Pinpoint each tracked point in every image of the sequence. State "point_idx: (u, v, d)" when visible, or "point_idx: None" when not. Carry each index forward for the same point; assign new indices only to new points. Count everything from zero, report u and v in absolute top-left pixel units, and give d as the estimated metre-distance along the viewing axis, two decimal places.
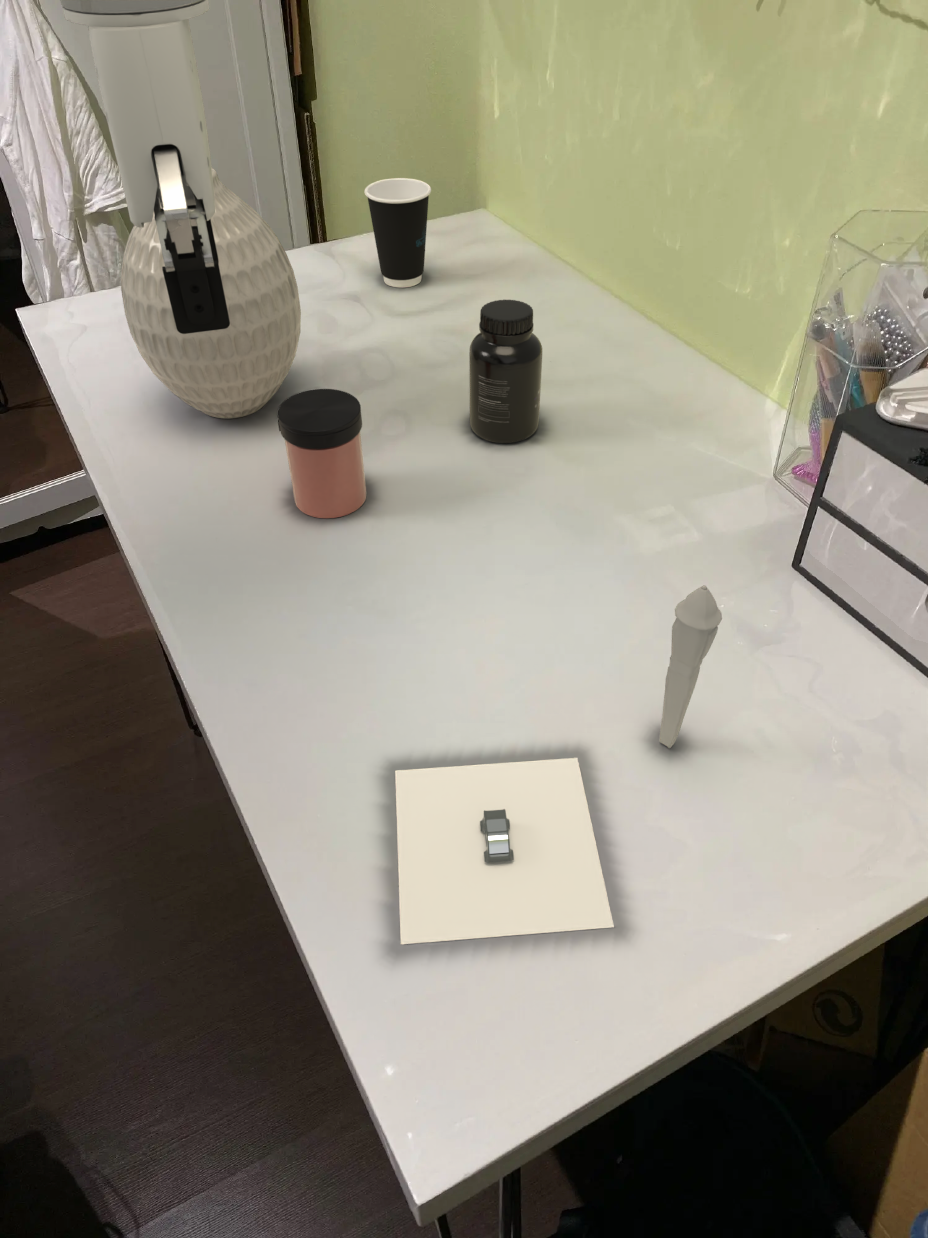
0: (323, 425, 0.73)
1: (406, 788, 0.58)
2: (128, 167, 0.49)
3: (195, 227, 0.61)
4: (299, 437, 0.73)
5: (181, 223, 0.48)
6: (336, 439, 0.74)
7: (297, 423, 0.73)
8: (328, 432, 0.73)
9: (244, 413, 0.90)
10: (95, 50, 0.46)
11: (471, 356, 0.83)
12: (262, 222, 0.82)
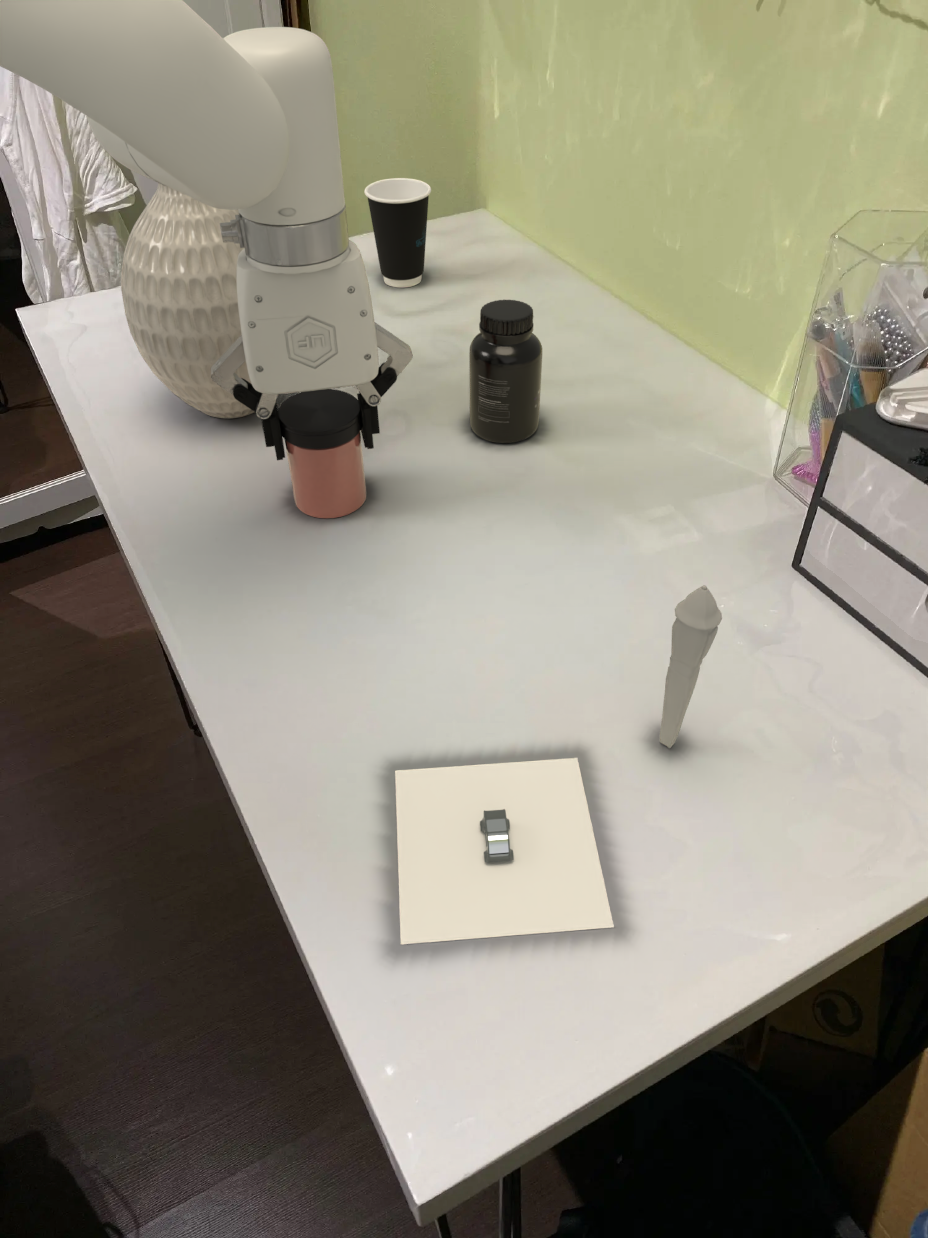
0: (323, 425, 0.73)
1: (406, 788, 0.58)
2: (376, 338, 0.70)
3: None
4: (299, 437, 0.73)
5: None
6: (336, 439, 0.74)
7: (297, 423, 0.73)
8: (328, 432, 0.73)
9: (244, 413, 0.90)
10: (357, 272, 0.66)
11: (471, 356, 0.83)
12: None
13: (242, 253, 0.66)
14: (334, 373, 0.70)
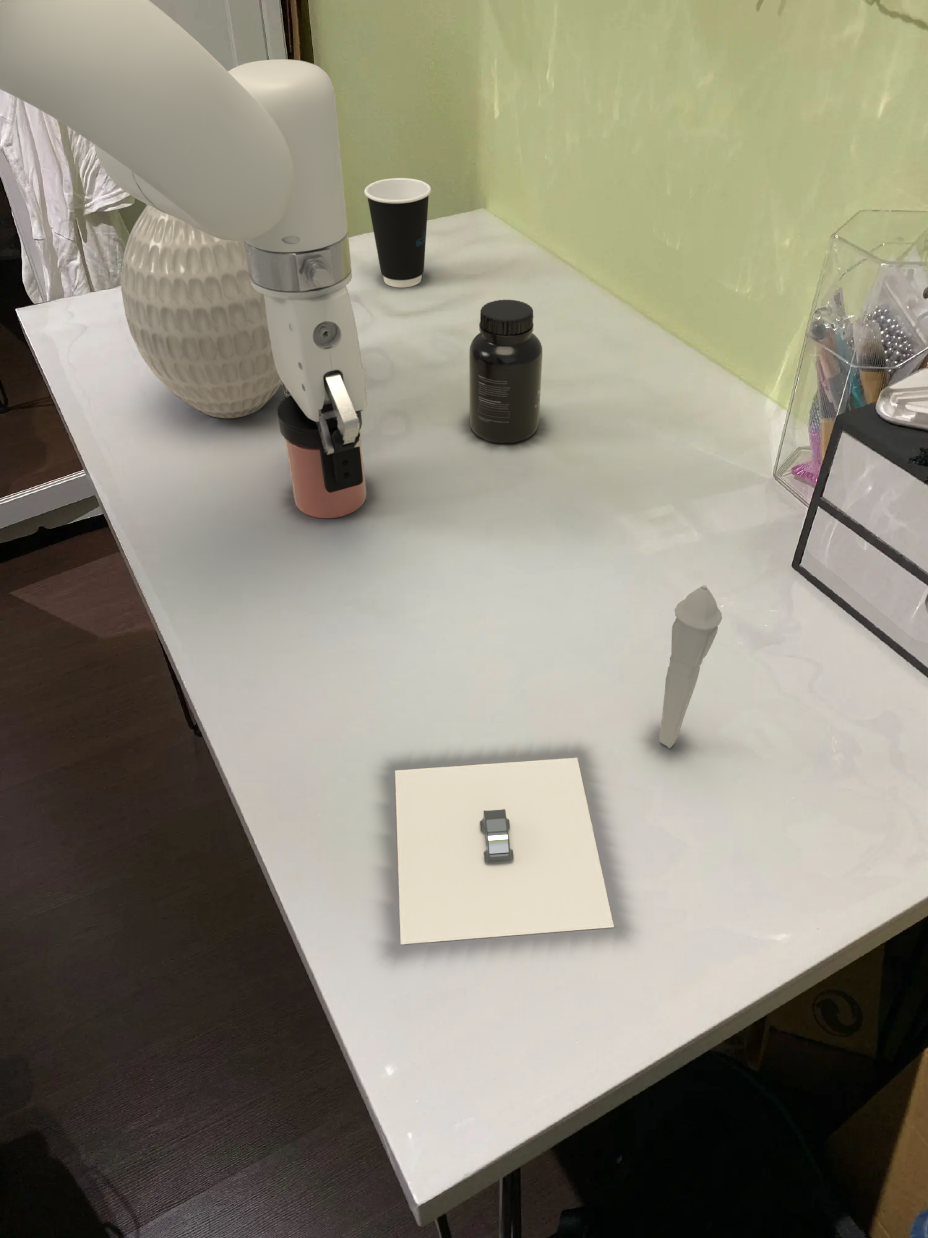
0: None
1: (406, 788, 0.58)
2: None
3: None
4: (360, 418, 0.75)
5: None
6: None
7: None
8: None
9: (244, 413, 0.90)
10: None
11: (471, 356, 0.83)
12: None
13: (308, 300, 0.65)
14: None
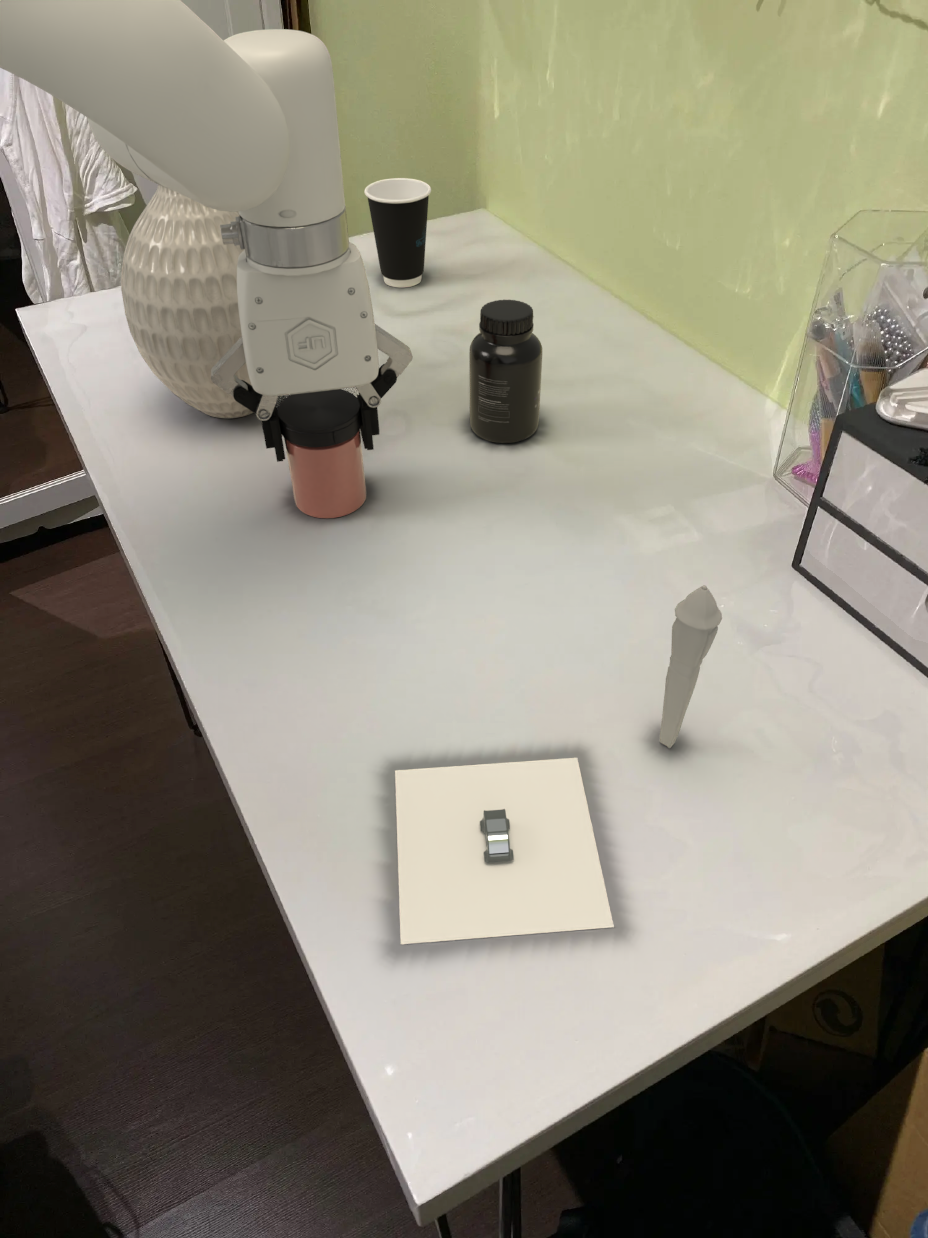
0: (348, 399, 0.76)
1: (406, 787, 0.58)
2: (376, 339, 0.70)
3: None
4: (359, 417, 0.75)
5: None
6: None
7: (347, 413, 0.74)
8: (355, 397, 0.76)
9: (244, 413, 0.90)
10: (357, 274, 0.66)
11: (471, 356, 0.83)
12: None
13: (242, 255, 0.66)
14: (334, 374, 0.70)
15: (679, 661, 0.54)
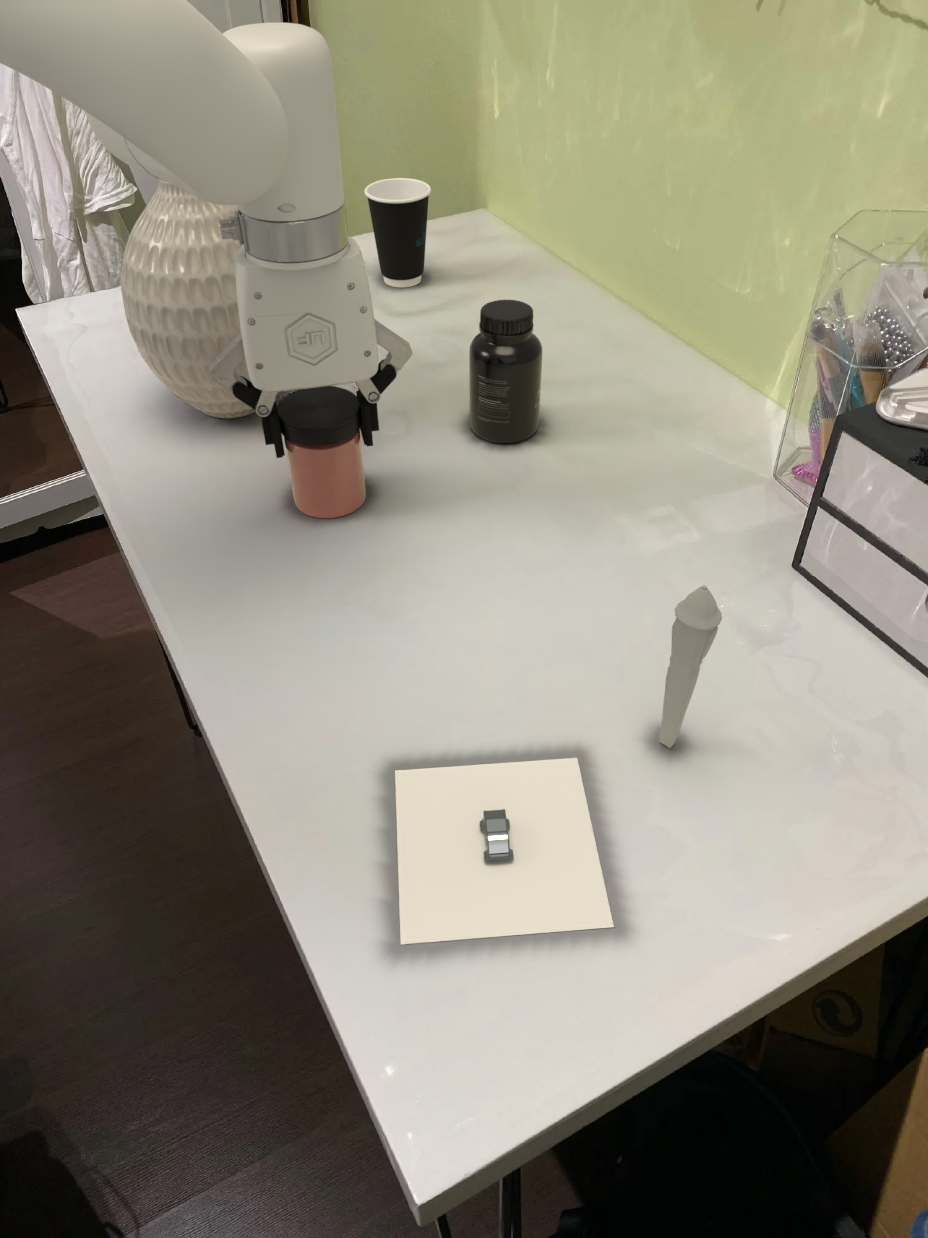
0: (300, 394, 0.76)
1: (406, 788, 0.58)
2: (375, 334, 0.70)
3: None
4: None
5: None
6: None
7: (325, 389, 0.77)
8: (292, 393, 0.77)
9: (244, 413, 0.90)
10: (356, 269, 0.66)
11: (471, 356, 0.83)
12: None
13: (241, 250, 0.66)
14: (333, 370, 0.70)
15: (679, 661, 0.54)
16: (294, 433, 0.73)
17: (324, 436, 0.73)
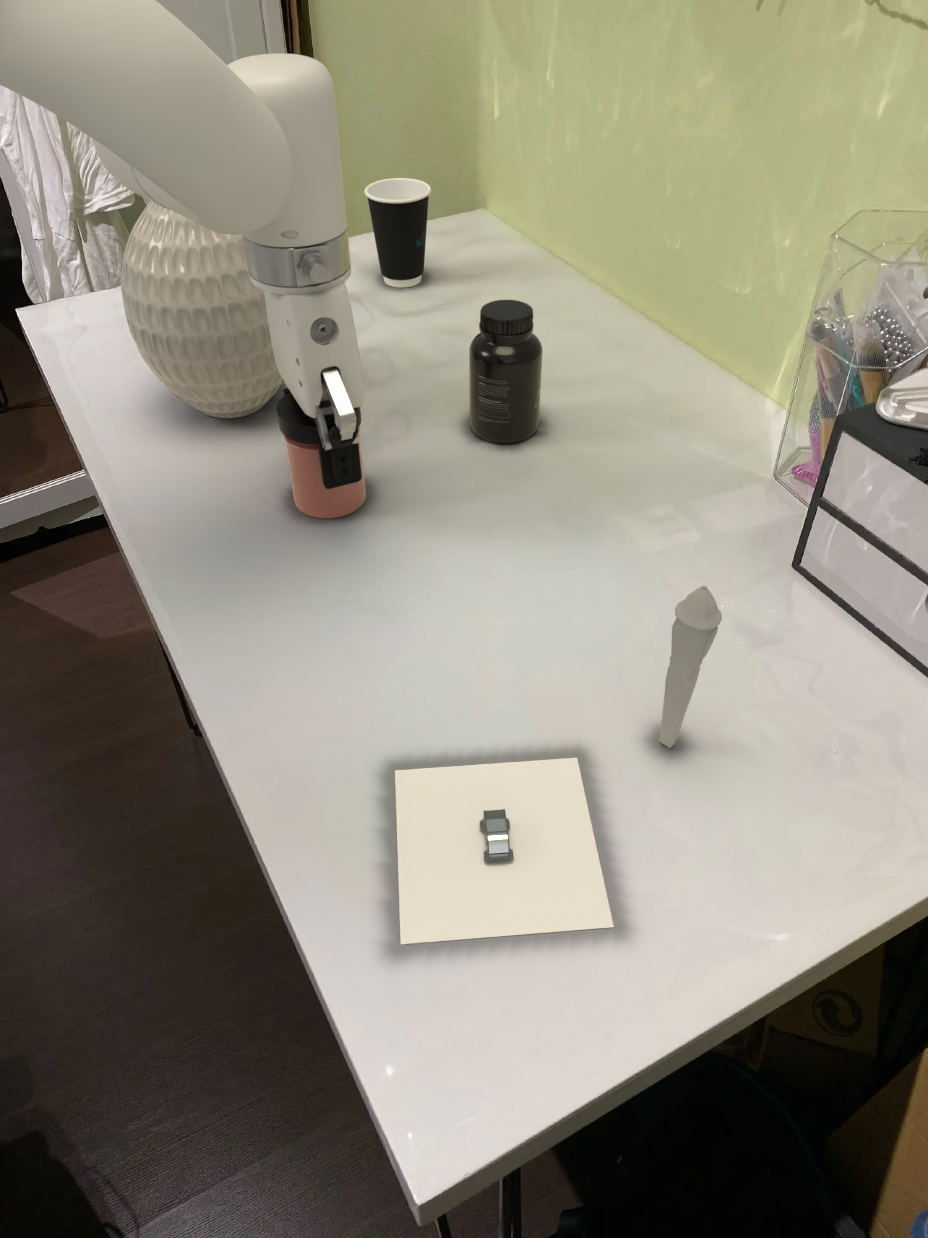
0: (296, 418, 0.73)
1: (406, 787, 0.58)
2: None
3: None
4: (278, 419, 0.74)
5: None
6: (300, 436, 0.73)
7: (285, 407, 0.75)
8: (293, 426, 0.73)
9: (244, 413, 0.90)
10: None
11: (471, 356, 0.83)
12: None
13: (305, 296, 0.64)
14: None
15: (679, 661, 0.54)
16: (357, 418, 0.75)
17: None
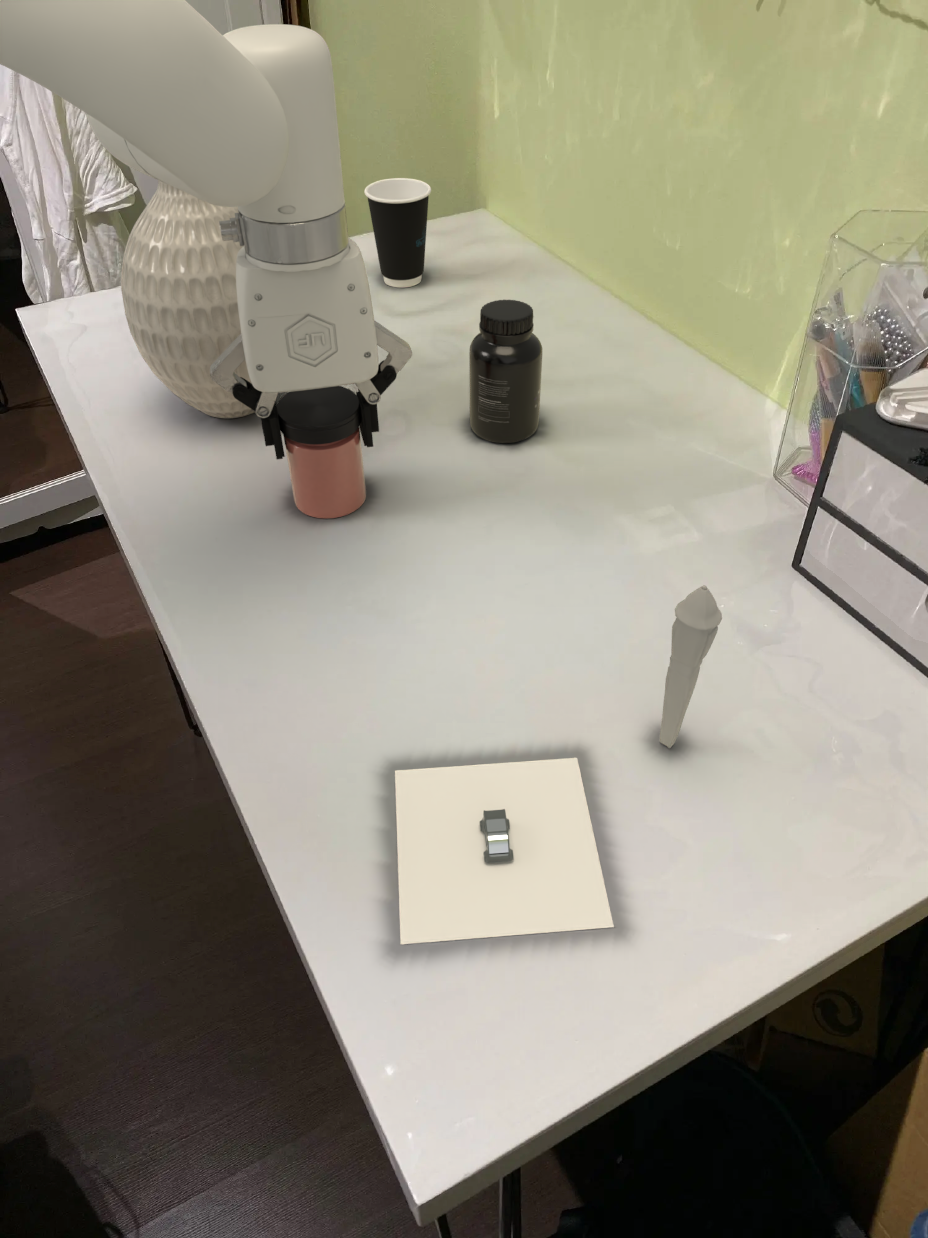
0: (296, 418, 0.73)
1: (406, 788, 0.58)
2: (375, 335, 0.70)
3: None
4: None
5: None
6: (300, 436, 0.73)
7: (285, 407, 0.75)
8: (292, 426, 0.73)
9: (244, 413, 0.90)
10: (357, 270, 0.66)
11: (471, 356, 0.83)
12: None
13: (241, 251, 0.66)
14: (334, 371, 0.70)
15: (679, 661, 0.54)
16: (357, 418, 0.75)
17: None
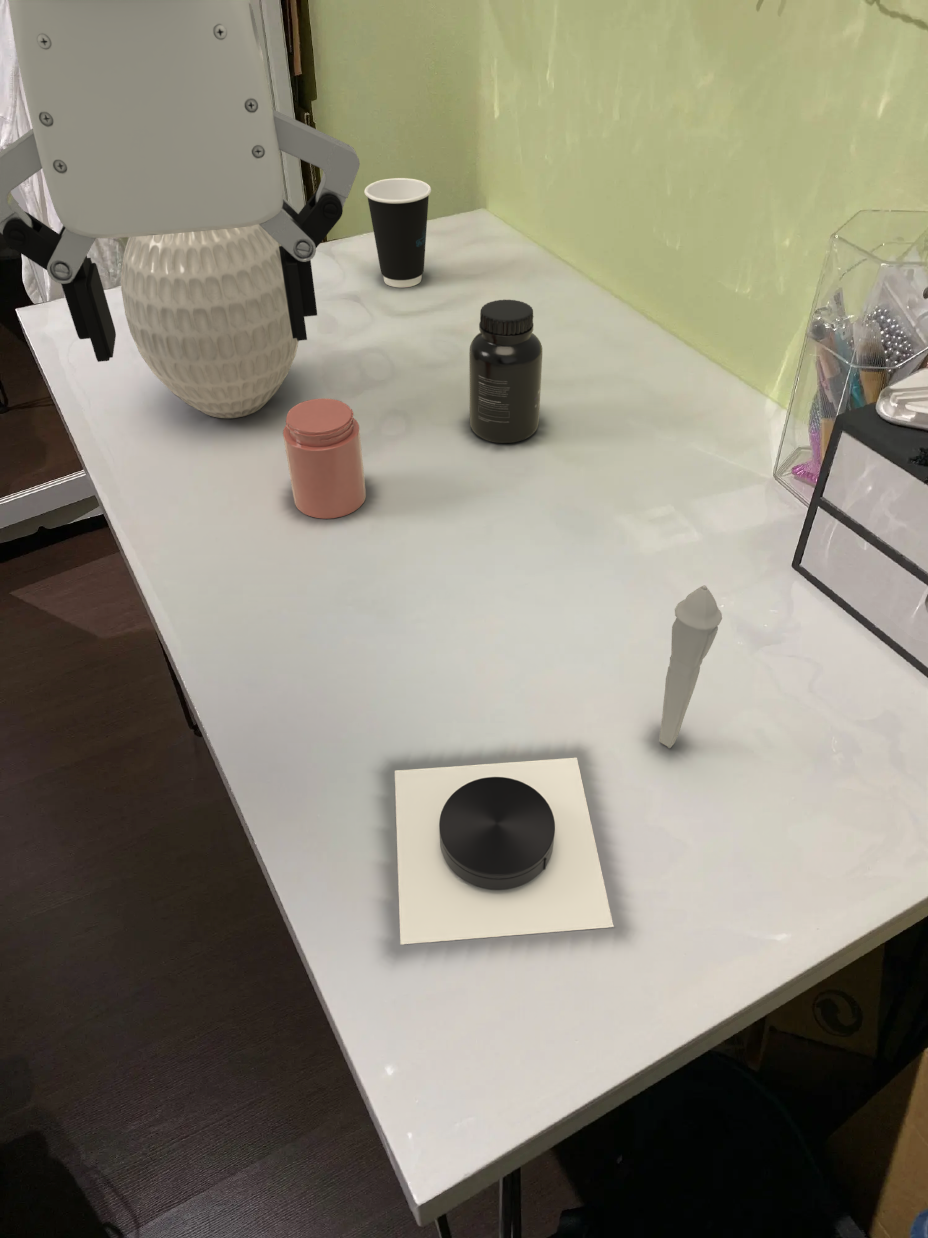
0: (520, 793, 0.55)
1: (406, 788, 0.58)
2: None
3: (284, 281, 0.45)
4: None
5: None
6: None
7: (541, 819, 0.54)
8: (523, 784, 0.56)
9: (244, 413, 0.90)
10: None
11: (471, 356, 0.83)
12: None
13: None
14: None
15: (679, 661, 0.54)
16: None
17: (445, 853, 0.53)
